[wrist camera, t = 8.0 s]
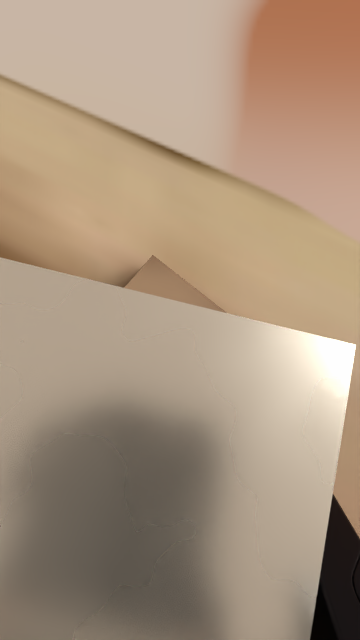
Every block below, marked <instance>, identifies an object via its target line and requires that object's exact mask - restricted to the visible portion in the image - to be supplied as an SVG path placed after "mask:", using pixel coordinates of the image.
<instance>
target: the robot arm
mask: <svg viewBox="0 0 360 640" xmlns="http://www.w3.org/2000/svg"><path fill="white" fill-rule="evenodd" d="M310 640H360V538H359V537H358V535H357V533H356V532H355V530H354V528H353V527H352V525H351V523H350V521H349V520H348V518H347V516H346V515H345V513H344V511H343V510H342V508H341V506H340V505H339V503H338V501H337V500H336V498H335V496H334V495H332V501H331V508H330V514H329V520H328V527H327V533H326V540H325V546H324V552H323V559H322V565H321V572H320V578H319V584H318V591H317V597H316V604H315V610H314V617H313V623H312V629H311V636H310Z"/></svg>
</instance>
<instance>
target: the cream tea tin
mask: <svg viewBox="0 0 360 640" xmlns="http://www.w3.org/2000/svg"><path fill="white" fill-rule="evenodd" d="M355 347H356V345H355V344H350V343H346V342H342V341H338V340H334V339H330V338H326V337H322V336H318V335H314V334H310V333H306V332H302V331H297V330H293V329H289V328H285V327H281V326H277V325H273V324H269V323H265V322H261V321H257V320H253V319H249V318H244V317H240V316H236V315H232V314H228V313H224V312H220V311H216V310H212V309H208V308H204V307H200V306H196V305H191V304H187V303H183V302H179V301H175V300H171V299H167V298H163V297H159V296H155V295H151V294H147V293H143V292H139V291H134V290H130V289H126V288H122V287H118V286H114V285H110V284H106V283H102V282H98V281H94V280H90V279H86V278H81V277H77V276H73V275H69V274H65V273H61V272H57V271H53V270H49V269H45V268H41V267H37V266H33V265H28V264H24V263H20V262H16V261H12V260H8V259H4V258H0V640H310V636H311V629H312V623H313V617H314V610H315V604H316V597H317V591H318V584H319V578H320V572H321V565H322V559H323V552H324V546H325V540H326V533H327V527H328V520H329V514H330V508H331V501H332V495H333V488H334V482H335V475H336V469H337V463H338V456H339V450H340V443H341V437H342V431H343V424H344V418H345V411H346V405H347V399H348V392H349V386H350V379H351V373H352V366H353V360H354V354H355Z"/></svg>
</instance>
